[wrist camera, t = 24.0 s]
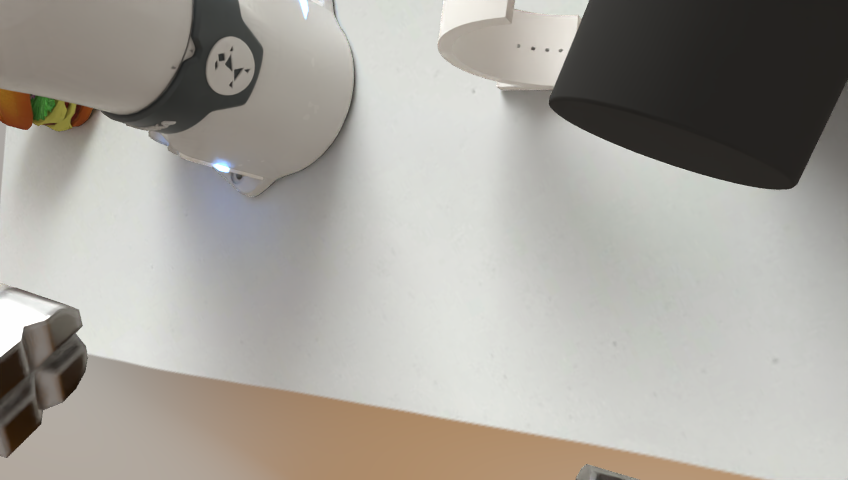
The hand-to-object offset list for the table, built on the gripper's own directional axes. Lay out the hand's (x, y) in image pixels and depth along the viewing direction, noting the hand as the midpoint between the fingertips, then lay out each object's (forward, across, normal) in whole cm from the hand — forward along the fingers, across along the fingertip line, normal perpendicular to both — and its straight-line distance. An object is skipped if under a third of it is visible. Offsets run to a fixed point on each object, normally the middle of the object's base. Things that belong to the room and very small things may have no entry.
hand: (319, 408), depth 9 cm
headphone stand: (+35, -2, +2) cm, 35 cm away
